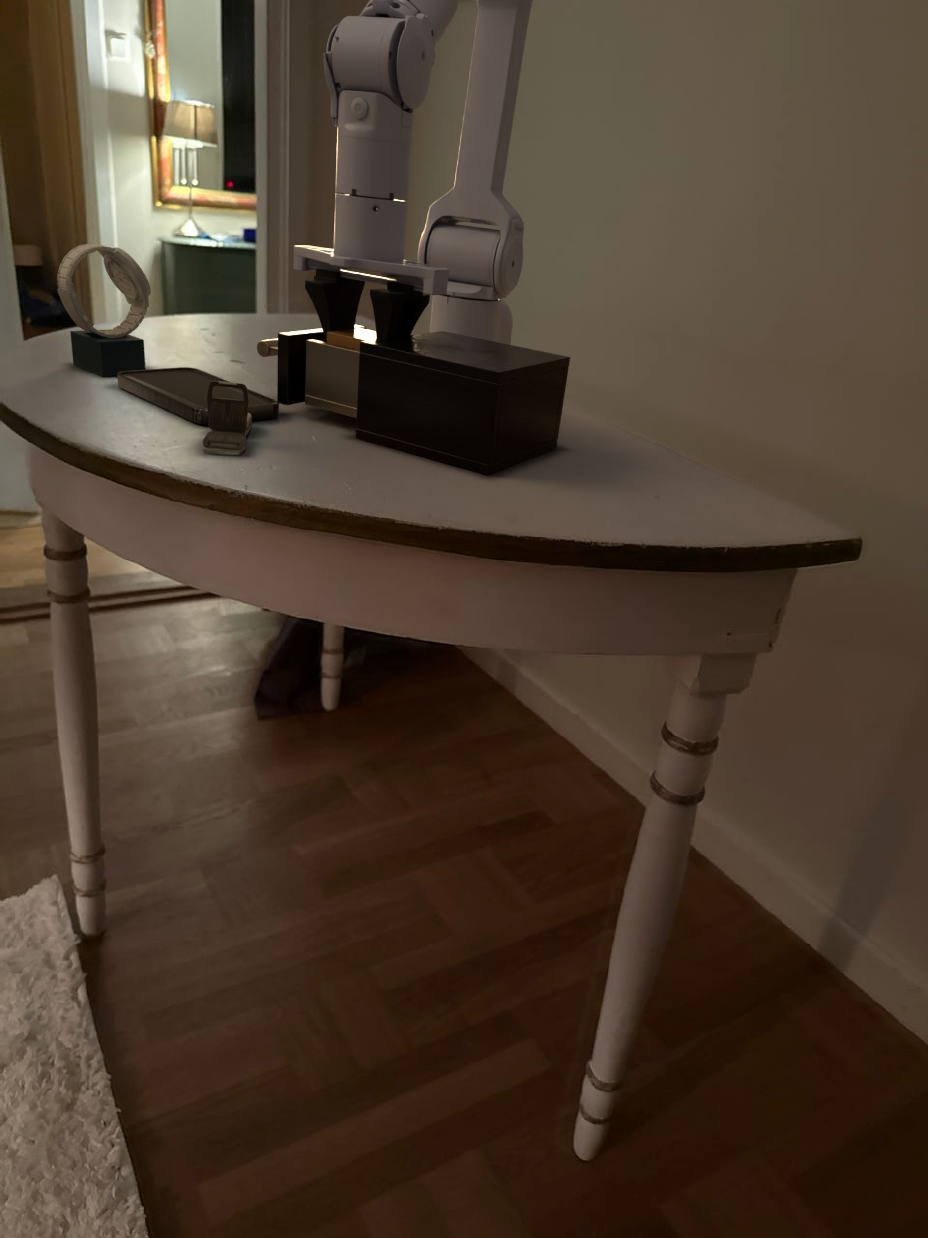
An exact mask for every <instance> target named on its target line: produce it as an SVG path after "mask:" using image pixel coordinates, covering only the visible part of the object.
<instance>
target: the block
mask: <svg viewBox="0 0 928 1238" xmlns="http://www.w3.org/2000/svg"><path fill="white" fill-rule="evenodd" d="M368 340H376V330H371V329H367V328H366V329H362V328H358V329H349V330H340V331H331V332H327V343H331V344H335V345H340V346H344V347H348V348H353V349H357V350H360V342H361V341H368Z"/></svg>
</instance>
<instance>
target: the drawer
mask: <svg viewBox="0 0 928 1238" xmlns="http://www.w3.org/2000/svg"><path fill="white" fill-rule="evenodd" d="M358 328H362V329H366V330H367V327H366V326H364V325H359V324H355V329H358ZM256 350H257V353H258V355H259V356H260V357H262V358H268V357H275V356H277V381H276V382H277V385H276V387H277V389H276V391H277V394H276V396H277V397H276V400H277V401H278V402H279V404H281V405H283V406H292V405H296V404H301V403H304V405H307V406H311V407H314V408H318V409H322V410H325V411H329V412H333V413H337V414H340V415H344V416H347V417H351V418H355V419H357V398H358V377H359V356H360V350H357V349H353V348H348V347H344V346H340V345H335V344H331V343H326V342H325V337H324V333H323V330H322V328H314V329H313V328H312V329H304V330H295V331H285V332H277V338H271V339H264V340H263V339H262V340H259V341H258V342H257V344H256Z"/></svg>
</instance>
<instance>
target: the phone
mask: <svg viewBox="0 0 928 1238" xmlns="http://www.w3.org/2000/svg"><path fill="white" fill-rule="evenodd" d="M117 375H118V376H117V386H118V387H119V388H120V389H123V390H125V391H126V392H129V393H131V394H133V395H135V396H138V397H140V398H142V399H144V400H146V401H148V402H150V403H152V404H155V405H157V406H159V407H161V408H163V409H165V410H167V411H170V412H171V413H174V414H176V415H177V416H180V417H181V418H184V419H186V420H188V421H190V422H193V423H195V424H199V425H208V426H209V424H208V405H207V395H208V389H209V385H210V383H211V382H212V381H223V382H230V381H229V380H227V379H224V378H222V377H219V376H216V375H214V374H211V373H210V372H207V371H204V370H202V369H199V368H196V367H189V366H180V367H164V368H151V369H145V370H133V371H121V372H118V373H117ZM247 390H248V397H249V406H248V413H250V414H251V416H252V421H255V420H265V419H271V418H272V419H273V418H278V417H279V416H280V407H279V406H280V403H279V402H278V401H277V399H275V398H272V397H270V396H268V395H264V394H261V393H260V392H257V391H255V390H252V389H249V388H247ZM213 398H222V399H233V400H244V395H243V389H242V388H235V387H225V386H214V389H213Z"/></svg>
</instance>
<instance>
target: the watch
mask: <svg viewBox="0 0 928 1238" xmlns="http://www.w3.org/2000/svg"><path fill="white" fill-rule="evenodd" d="M95 252H98V253H99V254H100V255H101V258H102V259H103V262H102V263H103V265H104V268H105V271H106V273H107V275H108V278H109V279H110V280H111V282H112V283H113V285H114V286H115V288H117V289H118V290H119V292H120V293H122V294H123V295H124V298H125V300H126V302H127V304H128V305H130V307H129V310H128V312H127V314H126V316H125V318H124V319H123V320H122V321H121V322H120V324H118V325H116V326H115V327H113V328H112V329H111V328H110V329H97V328H95V327H94V325H95V324H94V322H93V321H92V320H91V318H90V317H89V316H88V314H87V312H86V311H85V309H84V307H83V305H82V302H81V300H80V298H79V295H78V293H76V291H75V285H74V283H73V278H72V277H73V275H74V272H75V268H76V267H77V266H78V265H79V264H80V262H81V260H83V259H84V258H86V257H87V256H88V255H91V254H93V253H95ZM56 281H57V289H56V291H57V293H58V296H59V299H60V301H61V303H62V305H63V307H64V309H65V311H66V313H67V314H68V316H69V317H70V318H71V320H72V321H73V322H74V324H75V325H76V326H77V328H79V329H81V330H70V342H71V343H70V344H71V354H72V364H73V365H72V366H75V367H78V368H80V369H83V370H85V371H88V372H89V373H93V374H95V375H98V376H100V377H103V378H107V377H118V375H117V373H118V372H121V371H133V370H146V355H145V354H146V353H145V339H143V338H140V337H137V336H134V335H131V334H132V333H133V332H135V330H137V329H138V328H139V326H140V325H141V324H142V323H143V321H144V319H145V316H146V314H147V312H148V308H149V307H150V299H149V296H151V293H152V287H151V284H150V281H149V279H148V278H147V275H146V274H145V272H144V270H143V269H142V268H141V266H140V265H139V264H138V263H137V261H136V260H135V259H134V258H133V256H131V255H130V254H129V253H128V252H127V251H125V250H124V249H123V248H121V247H118V246H117V247H111V246H106V245H103V244H98V243H83V244H80V245H77V246H75V247H74V248H72V249H71V250H69V251H68V252H67V254H65V255H64V257H63V258H62V260H61V263H60V264H59V267H58V270H57V277H56Z"/></svg>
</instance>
